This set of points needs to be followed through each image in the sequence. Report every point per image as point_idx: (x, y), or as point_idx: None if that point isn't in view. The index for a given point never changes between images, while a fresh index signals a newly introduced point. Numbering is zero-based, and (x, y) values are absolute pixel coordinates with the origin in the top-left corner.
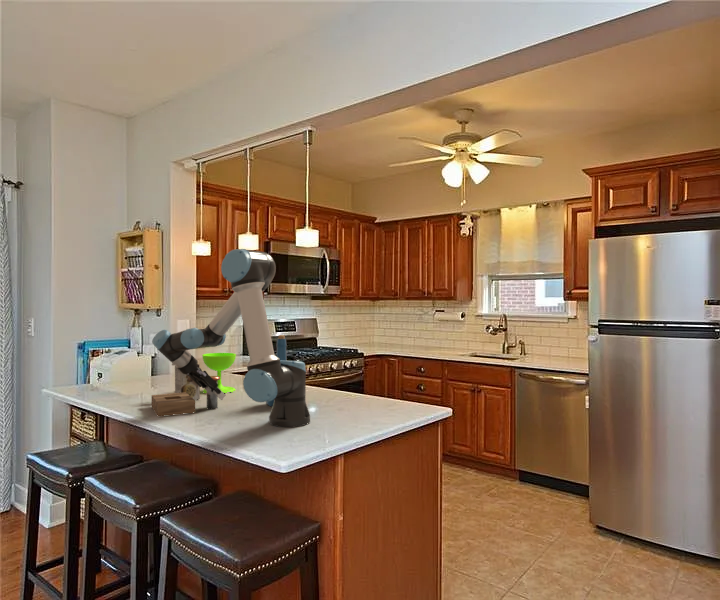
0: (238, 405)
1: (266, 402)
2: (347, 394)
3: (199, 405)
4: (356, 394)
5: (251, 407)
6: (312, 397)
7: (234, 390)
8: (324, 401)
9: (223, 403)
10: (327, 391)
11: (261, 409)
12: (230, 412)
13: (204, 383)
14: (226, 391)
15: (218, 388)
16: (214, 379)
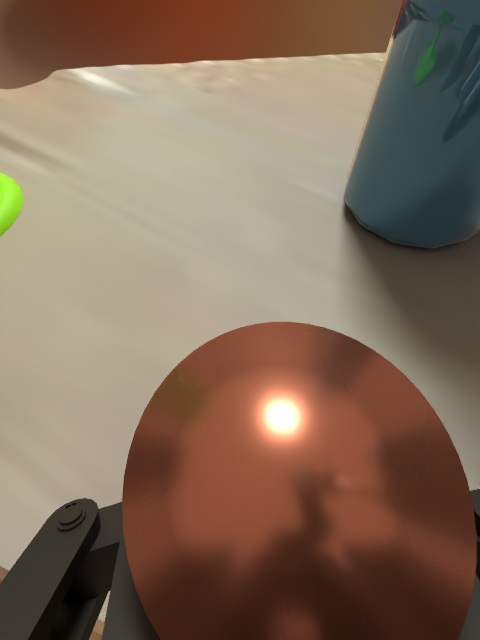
0: (296, 322)
1: (406, 236)
2: (362, 61)
3: (108, 496)
4: (376, 53)
5: (387, 305)
6: (341, 109)
7: (15, 184)
8: None
9: (188, 347)
10: (287, 66)
11: (463, 298)
12: (469, 467)
13: None
14: (2, 214)
15: None
16: (454, 515)
